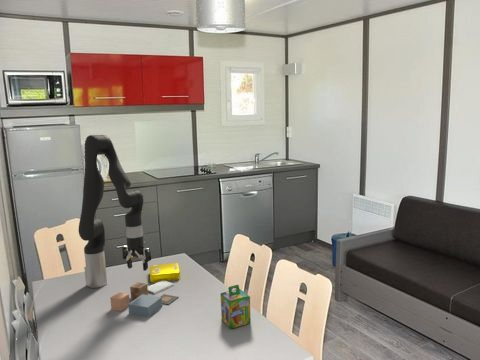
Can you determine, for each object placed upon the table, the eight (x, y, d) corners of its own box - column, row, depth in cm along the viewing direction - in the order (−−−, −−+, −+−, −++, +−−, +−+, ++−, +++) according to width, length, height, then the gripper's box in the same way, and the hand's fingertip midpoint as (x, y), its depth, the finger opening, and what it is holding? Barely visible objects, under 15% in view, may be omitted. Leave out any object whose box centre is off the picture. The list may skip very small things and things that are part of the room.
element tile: (180, 280, 211) (180, 271, 210) (150, 283, 208) (149, 274, 207) (178, 269, 225) (178, 261, 224) (150, 272, 222) (149, 264, 221)
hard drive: (154, 292, 194) (173, 283, 203) (142, 288, 199) (162, 279, 209) (154, 295, 194) (174, 286, 204) (143, 291, 199) (162, 282, 209)
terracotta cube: (111, 309, 181) (110, 297, 180) (119, 303, 186) (118, 292, 185) (121, 311, 179) (120, 299, 178) (129, 305, 184) (128, 294, 183)
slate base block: (129, 313, 177) (128, 304, 176) (143, 303, 186) (142, 294, 185) (148, 317, 173) (148, 307, 172) (162, 306, 182) (161, 297, 181)
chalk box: (230, 329, 160) (229, 293, 158) (220, 319, 168) (219, 285, 166) (251, 323, 164) (250, 288, 162) (241, 314, 172) (239, 280, 170)
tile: (153, 302, 186) (153, 301, 186) (163, 294, 193) (163, 293, 193) (168, 305, 183) (168, 304, 183) (178, 297, 190) (178, 296, 190)
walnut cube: (131, 298, 191) (130, 286, 191) (138, 293, 196) (137, 282, 195) (140, 299, 189) (139, 288, 188) (148, 294, 194) (147, 283, 193)
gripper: (116, 236, 188) (120, 270, 190) (142, 238, 182) (145, 273, 184) (127, 231, 194) (130, 264, 197) (152, 233, 189) (155, 267, 191)
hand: (137, 269), depth 191 cm, fingers open, 8 cm apart
